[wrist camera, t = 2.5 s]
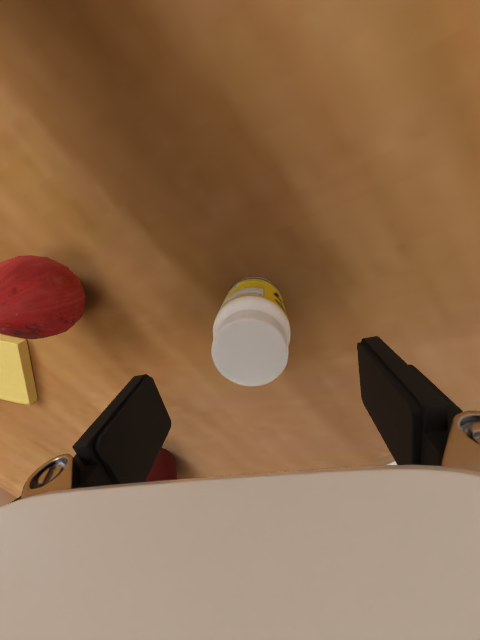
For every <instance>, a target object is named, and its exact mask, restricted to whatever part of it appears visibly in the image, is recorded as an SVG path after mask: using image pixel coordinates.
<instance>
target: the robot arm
mask: <svg viewBox="0 0 480 640" xmlns="http://www.w3.org/2000/svg"><path fill="white" fill-rule="evenodd" d="M357 350H358V362H359V374H360V386H361V397H362V401H363V404H364V406H365V407H366V409H367V411H368V413H369V415H370V416H371V418H372V420H373V422H374V424H375V425H376V427H377V429H378V431H379V432H380V434H381V436H382V438H383V440H384V441H385V443H386V445H387V447H388V449H389V450H390V452H391V454H392V456H393V457H394V459H395V461H396V463H397V465H379V466H360V467H343V468H325V469H311V470H297V471H283V472H269V473H254V474H241V475H228V476H215V477H202V478H189V479H176V480H164V481H152V482H145V481H146V479H147V477H148V475H149V473H150V470H151V468H152V466H153V464H154V462H155V460H156V458H157V456H158V453H159V451H160V449H161V447H162V445H163V443H164V441H165V439H166V436H167V434H168V432H169V430H170V428H171V419H170V417H169V415H168V412H167V410H166V408H165V406H164V403H163V401H162V399H161V396H160V394H159V392H158V389H157V387H156V385H155V383H154V380H153V378H152V377H149V376H148V375H147V374H145V375H139V376H134V377H133V378H132V379H131V380H130V382H129V383H128V384H127V385H126V386H125V387H124V388H123V390H122V391H121V392H120V393H119V394H118V395H117V396H116V398H115V399H114V400H113V401H112V402H111V403H110V404H109V406H108V407H107V408H106V409H105V410H104V411H103V412H102V413H101V415H100V416H99V417H98V418H97V419H96V420H95V421H94V423H93V424H92V425H91V426H90V427H89V428H88V429H87V431H86V432H85V433H84V434H83V435H82V436H81V437H80V439H79V440H78V441H77V442H76V443H75V444H74V445H73V449H74V450H75V452H76V453H77V454H76V455H75V457H74V458H73V457H72V456H71V455H70V454H63V455H59V456H57V457H55V458H52V459H51V460H49V461H47V462H46V463H44V464H43V465H42V466H40V467H39V468H38V469H37V470H36V471H35V472H34V473H33V474H32V475H31V476H30V477H29V478H28V480H27V481H26V483H25V485H24V487H23V491H22V495H21V496H20V497H19V498H17V499H16V500H14V501H12V502H11V503H9V504H7V505H5V506H3V507H0V640H480V411H466V412H463V411H462V410H461V409H460V408H459V407H458V406H456V405H455V404H454V403H453V402H452V401H451V400H450V399H449V398H448V397H447V396H446V395H445V394H444V393H442V392H441V391H440V390H439V389H438V388H437V387H436V386H435V385H434V384H433V383H432V382H431V381H430V380H428V379H427V378H426V377H425V376H424V375H423V374H422V373H421V372H420V371H419V370H418V369H417V368H416V367H414V366H413V365H407V364H406V363H405V362H404V361H403V360H402V359H401V358H400V357H399V356H398V355H397V354H396V353H395V352H394V351H393V350H392V349H391V348H390V347H389V346H388V345H387V344H386V343H384V342H383V341H382V340H381V339H380V338H379V337H378V336H375V337H369V338H363V339H362V341H361V343H358V344H357Z"/></svg>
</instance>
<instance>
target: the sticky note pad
mask: <svg viewBox="0 0 480 640" xmlns="http://www.w3.org/2000/svg"><path fill="white" fill-rule="evenodd" d="M0 399H3V400H7V401H12V402H17V403H21V404H26V405H31V404H32V403H33V402H35V401H36V400H37V399H38V398H37V393H36V387H35V382H34V376H33V371H32V366H31V360H30V355H29V349H28V344H27V340H26V339H21V338H17V337H12V336H7V335H3V334H0Z"/></svg>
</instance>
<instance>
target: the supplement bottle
mask: <svg viewBox="0 0 480 640" xmlns="http://www.w3.org/2000/svg"><path fill="white" fill-rule="evenodd" d="M290 335H291V332H290V324H289V320H288V317H287V313H286V310H285V306H284V303H283V299H282V296H281V294H280V292H279V290H278V288H277V287H276V286H275V285H274V284H273V283H272V282H270V281H268V280H266V279H264V278H260V277H248V278H244V279H242V280H240V281H238V282H237V283H235V284H234V285H233V286H232V288H231V289H230V290H229V292H228V294H227V296H226V298H225V300H224V302H223V304H222V306H221V308H220V310H219V312H218V314H217V316H216V319H215V322H214V326H213V338H214V340H213V343H212V350H211V353H212V358H213V362H214V364H215V366H216V368H217V369H218V371H219V372H220V373H221V374H222V375H223V376H224V377H225V378H227V379H228V380H230V381H232V382H234V383H236V384H239V385H244V386H260V385H264V384H267V383H269V382H271V381H273V380H274V379H276V378H277V377H278V376H279V375H280V374H281V373H282V372H283V370H284V368H285V367H286V364H287V361H288V354H289V352H288V346H289V342H290Z"/></svg>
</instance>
